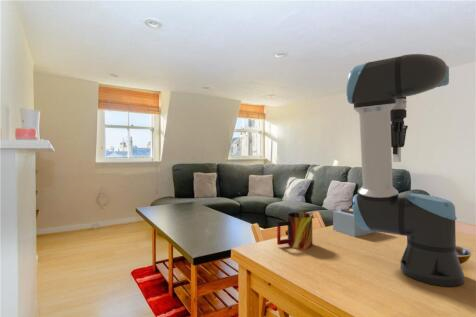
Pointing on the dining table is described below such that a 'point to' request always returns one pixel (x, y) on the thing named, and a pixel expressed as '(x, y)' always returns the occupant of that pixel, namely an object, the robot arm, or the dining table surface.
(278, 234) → the mug
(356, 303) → the dining table surface
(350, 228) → the socket block
